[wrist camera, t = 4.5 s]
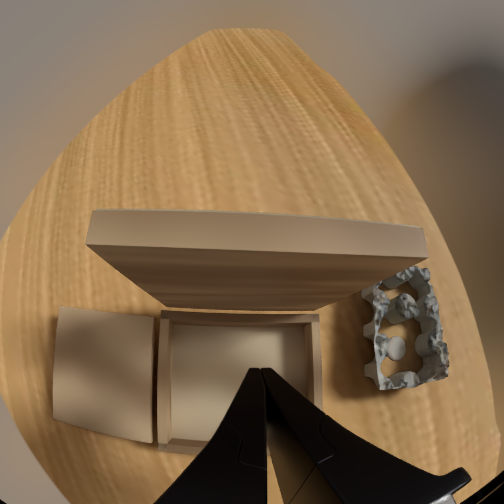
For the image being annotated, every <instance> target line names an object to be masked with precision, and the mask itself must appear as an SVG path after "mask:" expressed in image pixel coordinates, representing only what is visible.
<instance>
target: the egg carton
mask: <svg viewBox="0 0 504 504" xmlns="http://www.w3.org/2000/svg"><path fill="white" fill-rule="evenodd" d="M429 280H430V272H429V270H428V268H424V269H420V268H418V266H411V267H409V268H407V269H405V270H403V271H401V272H399V273H397V274H395V275H393V276H391V277H389V278H387V279H385V280H383V281H381V282H379V283H376V284H374V285H372V286H370V287H368V288H365V289H363V290H361V296H362V299H365V300H367V301H368V302H370V303H371V305H372V306H373V309H374V317H373V319H372V321H371V322H370V323H368V324H366V325H364V326H363V330H364V337H366V338H368V339H370V340H371V341H373V343H374V350H375V357H374V359H373V360H372V361H371V362H370V363H368V364H365V366H364V375H365V376H366V377H370V378H372V379H373V380H374V382H375V384H376V387H378V388H380V390H387V389H398V388H403V387H405V388H412V387H417V386H419V385H421V384H423V383H426V382H431V381H437V380H440V379H444V378H445V377H448V374H449V372H448V367H449V360H448V354H449V353H448V349H447V343H444V342H443V340H442V332H443V327H442V326H441V324H440V318H439V305H438V303H437V299H436V296H435V294H434V292H433V287H432V285H431V284H430V283H429ZM406 281H408V282H409V284H410V285H411V287H412V288H414V289H416V290H417V292H418V300H417V301H415V300H414V299H413V298H412V297H411V296H410V295H409V294H406V293H402V294H400V295H398V296H397V297H395V298H393V299H391V300H390V301H389V299H388V298H387V297H386V294H384V291H382V290H380V289H378V286H379V285H380V284H381V283H383V284H384V285H385V286H386V287H387V288H389V289H395V288H396V287H398V286H400V285H401V284H403V283H404V282H406ZM384 316H385V318H386V319H387V320H388V321H389V322H390V323H391V324H398V323H401V322H404V321H406V320H408V319H411V318H414V319H415V320H416V321H417V322H419V323H420V327H421V331H422V334H420V335H418V337H417V338H416V340H415V351H416V353H417V355H419V356H420V357H423V368H422V369H421V370H419V372H418V373H417V374H416V373H414V372H411V371H406V372H398V373H395V374H393V375H391V376H390V377H389V378H387V377H385V376H384V375H383V374H382V373H381V371H380V366H381V361H382V360H384V359H385V357H387V356H389V358H390V359H391V360H393V361H398V360H400V359H401V358H403V357H404V355H405V352H406V344H405V342H404V340H403V339H402V338H401V337H399V336H394V337H392V338H391V339H390V338H388V337H387V336H386V335H385V334H378V329H379V328H380V322H381V321H382V317H384ZM377 320H379V323H378V324H377Z"/></svg>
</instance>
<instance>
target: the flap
mask: <svg viewBox="0 0 504 504" xmlns="http://www.w3.org/2000/svg"><path fill="white" fill-rule="evenodd" d="M85 244H86V245H87V246H88V247H89V248H90V249H92V250H93V251H94V252H95V253H96V254H98V255H99V256H100V257H101V258H103V259H104V260H105V261H106V262H107V263H109V264H110V265H111V266H113V267H114V268H115V269H116V270H118V271H119V272H120V273H121V274H123V275H124V276H125V277H127V278H128V279H129V280H131V281H132V282H133V283H135V284H136V285H137V286H139V287H140V288H141V289H143V290H144V291H145V292H147V293H148V294H150V295H151V296H152V297H154V298H155V299H157V300H158V301H159V302H161V303H162V304H164V305H165V306H167V307H175V308H193V309H215V310H251V311H314V310H317V309H319V308H321V307H324V306H326V305H329V304H331V303H334V302H336V301H338V300H341V299H343V298H345V297H348V296H350V295H352V294H354V293H357V292H359V291H361V290H363V289H365V288H368V287H370V286H372V285H374V284H376V283H379V282H381V281H383V280H385V279H387V278H389V277H391V276H393V275H395V274H397V273H399V272H401V271H403V270H405V269H407V268H409V267H411V266H413V265H415V264H417V263H419V262H421V261H423V260H425V259H427V258H429V256H428V251H427V245H426V240H425V235H424V231H423V228H419V226H412V225H403V224H394V223H385V222H375V221H365V220H355V219H343V218H332V217H319V216H306V215H291V214H275V213H258V212H237V211H213V210H179V209H96V211H93V212H92V216H91V220H90V224H89V229H88V233H87V238H86V243H85Z"/></svg>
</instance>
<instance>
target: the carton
mask: <svg viewBox="0 0 504 504" xmlns="http://www.w3.org/2000/svg"><path fill="white" fill-rule="evenodd" d="M155 330H156V318H155V317H152V316H141V315H130V314H120V313H111V312H102V311H94V310H87V309H79V308H72V307H65V306H60V308H59V315H58V322H57V330H56V340H55V351H54V367H53V419H56V420H59V421H62V422H65V423H68V424H71V425H74V426H77V427H80V428H84V429H87V430H91V431H95V432H99V433H102V434H107V435H111V436H115V437H120V438H125V439H130V440H135V441H141V442H147V443H152V442H153V441H154V437H153V369H154V346H155ZM267 367H270V368H272V369H273V370H275V371H276V372H277V373H278V374H279V375H280V376H281V377H282V378H284V379H285V380H286V381H287V382H288V383H289V384H290V385H292V386H293V387H294V388H295V389H296V390H297V391H299V392H300V393H301V394H302V395H303V396H305V397H306V398H307V399H308V400H309V401H311V402H312V403H313V404H314V405H315V406H317V407H318V408H319V409H320V410H321V411H323V398H322V361H321V339H320V322H319V314H229V313H202V312H183V311H167V310H161V319H160V334H159V352H158V380H157V426H158V451H165V452H174V453H183V454H195V455H198V454H199V453H200V452H201V451H202V449H203V448H204V447H205V446H206V444H207V443H208V442H209V440H210V439H211V438H212V436H213V435H214V433H215V431H216V430H217V428H218V426H219V425H220V423H221V421H222V420H223V418H224V416H225V414H226V412H227V410H228V408H229V406H230V404H231V402H232V401H233V399H234V397H235V395H236V393H237V391H238V389H239V387H240V385H241V383H242V381H243V379H244V377H245V375H246V373H247V371H248V369H249V368H260V369H261V368H267ZM267 455H270V452H269V448H268V444H267Z"/></svg>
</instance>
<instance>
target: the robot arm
mask: <svg viewBox="0 0 504 504" xmlns="http://www.w3.org/2000/svg"><path fill="white" fill-rule="evenodd" d="M267 444H268V448H269V452H270V455H271V459H272V463H273V466H274V470H275V474H276V477H277V481H278V485H279V488H280V492H281V495H282V499H283V502H284V504H456V502H455V500H454V498H453V494H454V493H456V492H457V491H458V490H460V489H461V488H463V487H464V486H465V485H466V484H468V483H469V482H470V481H471V480H472V478H471V477H470V475H469V474H468V472H467V471H466V470H465V469H464V468H463V467H459V468H457V469H455V470H453V471H451V472H449V473H448V474H445V475H442V476H437V475H433V474H430V473H428V472H426V471H424V470H422V469H419V468H417V467H415V466H413V465H411V464H409V463H407V462H405V461H403V460H401V459H399V458H397V457H395V456H393V455H391V454H389V453H387V452H386V451H384V450H382V449H380V448H378V447H376V446H375V445H373V444H371V443H369V442H367V441H366V440H364V439H362V438H360V437H359V436H357V435H355V434H354V433H352V432H350V431H349V430H347V429H346V428H344V427H343V426H341V425H340V424H339V423H337V422H336V421H335V420H333V419H332V418H331V417H329V416H328V415H326V414H325V413H324V412H323V411H321V410H320V409H319V408H318V407H317V406H315V405H314V404H313V403H312V402H311V401H309V400H308V399H307V398H306V397H305V396H303V395H302V394H301V393H300V392H299V391H297V390H296V389H295V388H294V387H293V386H292V385H290V384H289V383H288V382H287V381H286V380H285V379H284V378H282V377H281V376H280V375H279V374H278V373H277V372H276V371H275V370H273V369H272V368H270V367H267V368H261V369H260V368H249V369H248V371H247V373H246V375H245V377H244V379H243V381H242V383H241V385H240V387H239V389H238V391H237V393H236V395H235V397H234V399H233V401H232V402H231V404H230V406H229V408H228V410H227V412H226V414H225V416H224V418H223V420H222V421H221V423H220V425H219V426H218V428H217V430H216V431H215V433H214V435H213V436H212V438H211V439H210V440H209V442H208V443H207V444H206V446H205V447H204V448H203V449H202V451H201V452H200V453H199V454H198V455H197V456H196V458H195V459H194V460H193V461H192V462H191V463H190V465H189V466H188V467H187V468H186V469H185V470H184V471H183V472H182V474H181V475H180V476H179V477H178V478H177V479H176V480H175V481H174V482H173V483H172V485H171V486H170V487H169V488H168V489H167V490H166V491H165V492H164V493H163V494H162V495H161V496H160V497H159V498H158V499H157V500H156V501H155V502H154V503H153V504H267ZM0 504H6V503H5V502H3V501H2V500H0ZM460 504H504V471H502V472H501V473H500V474H499V475H498V476H496V477H495V478H494V479H493V480H491V481H490V482H489V483H488V484H486V485H485V486H484V487H482V488H481V489H480V490H478V491H477V492H476V493H474V494H473V495H472V496H470V497H469V498H467V499H466V500H464V501H463V502H461V503H460Z"/></svg>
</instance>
